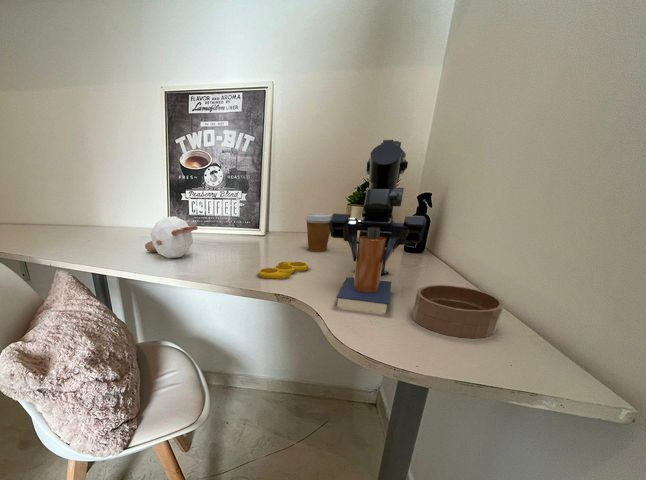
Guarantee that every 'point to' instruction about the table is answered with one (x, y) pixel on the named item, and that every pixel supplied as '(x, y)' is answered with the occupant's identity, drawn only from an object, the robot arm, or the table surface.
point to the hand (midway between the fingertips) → (369, 261)
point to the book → (364, 297)
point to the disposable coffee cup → (318, 231)
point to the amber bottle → (369, 261)
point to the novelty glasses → (282, 270)
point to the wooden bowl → (457, 311)
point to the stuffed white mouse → (171, 237)
